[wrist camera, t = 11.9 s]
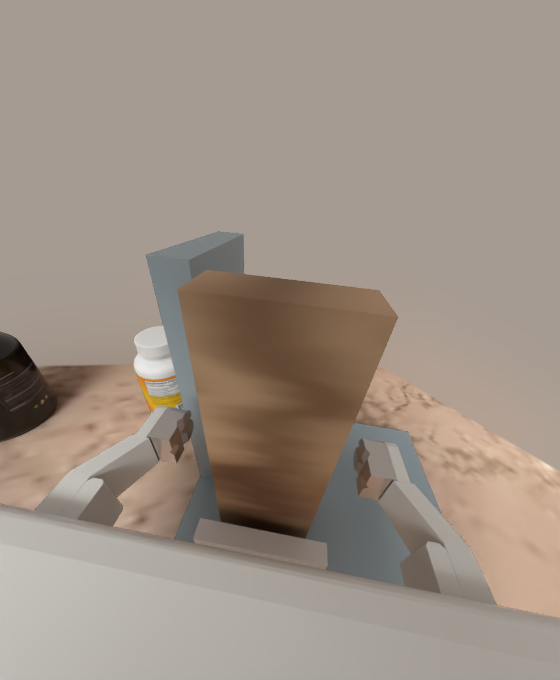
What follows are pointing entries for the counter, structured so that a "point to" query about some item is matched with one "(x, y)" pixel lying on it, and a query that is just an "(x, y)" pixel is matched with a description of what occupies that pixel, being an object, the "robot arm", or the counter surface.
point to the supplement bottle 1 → (21, 390)
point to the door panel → (279, 387)
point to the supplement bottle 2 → (156, 369)
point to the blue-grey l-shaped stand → (341, 493)
